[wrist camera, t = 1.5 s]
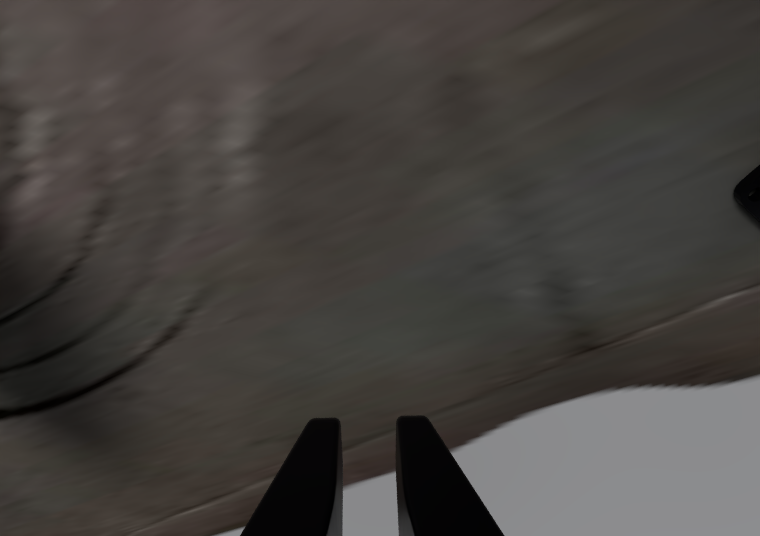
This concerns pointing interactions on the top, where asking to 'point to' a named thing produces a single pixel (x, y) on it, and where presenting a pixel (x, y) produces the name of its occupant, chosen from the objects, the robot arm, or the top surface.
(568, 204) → the top surface
